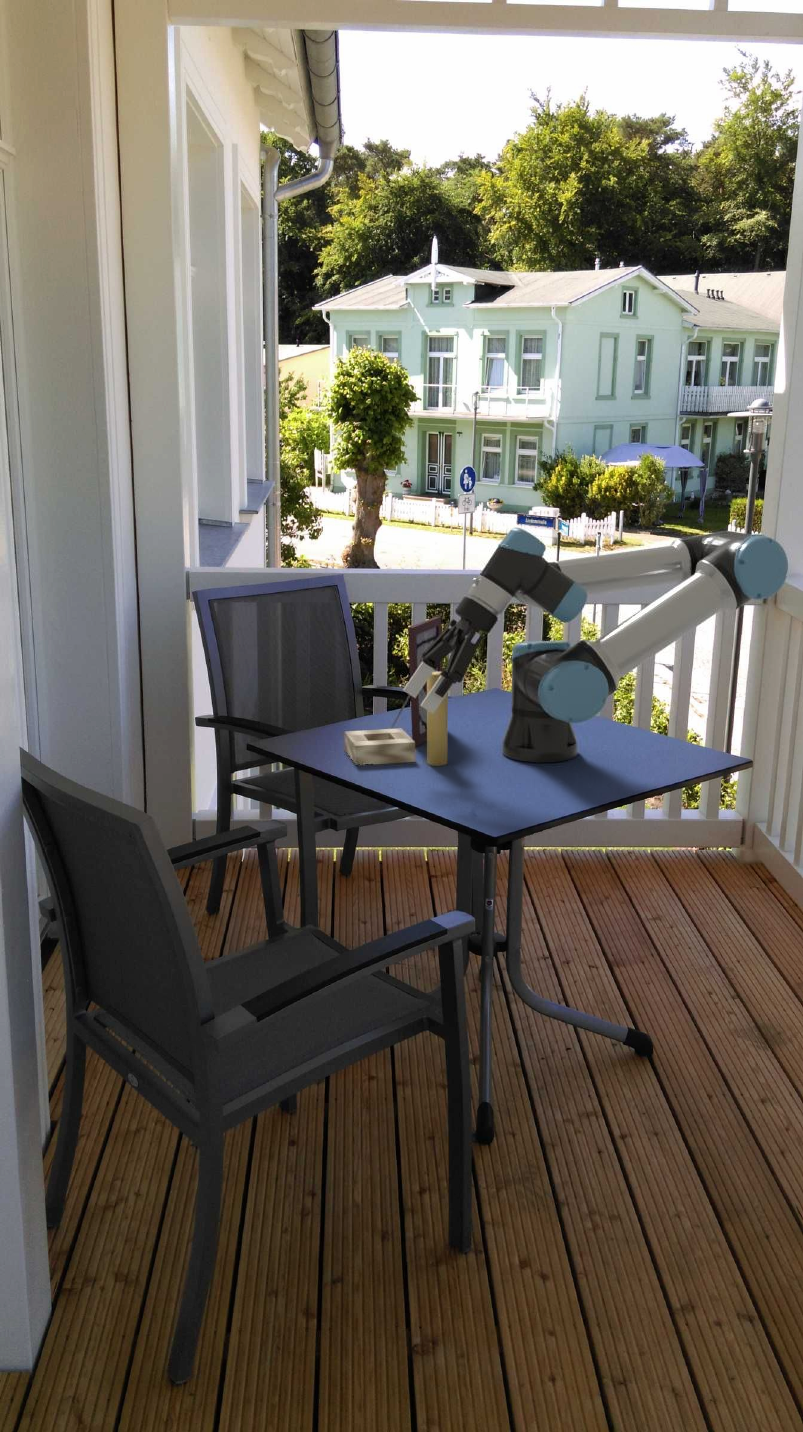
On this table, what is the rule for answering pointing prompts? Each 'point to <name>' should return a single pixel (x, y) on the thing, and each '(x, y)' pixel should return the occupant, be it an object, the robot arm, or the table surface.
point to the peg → (437, 728)
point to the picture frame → (418, 643)
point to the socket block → (379, 746)
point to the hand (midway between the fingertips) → (417, 701)
